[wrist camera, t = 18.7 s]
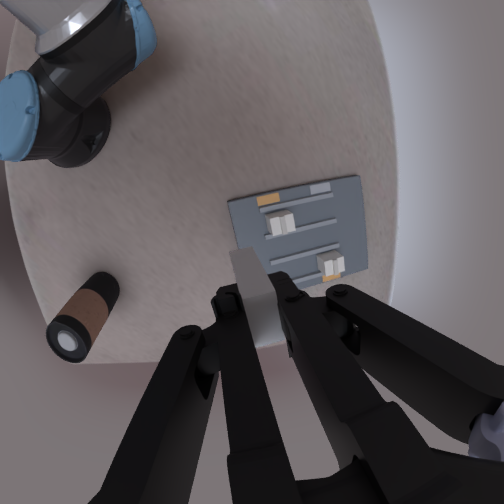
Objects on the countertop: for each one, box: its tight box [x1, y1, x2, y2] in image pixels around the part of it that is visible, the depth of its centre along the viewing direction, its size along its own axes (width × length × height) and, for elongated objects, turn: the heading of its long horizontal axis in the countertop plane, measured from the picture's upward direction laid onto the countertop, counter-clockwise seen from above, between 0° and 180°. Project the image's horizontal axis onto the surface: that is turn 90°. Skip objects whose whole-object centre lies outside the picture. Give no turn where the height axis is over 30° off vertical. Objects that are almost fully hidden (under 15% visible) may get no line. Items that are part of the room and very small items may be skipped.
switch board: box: [227, 175, 368, 289], centre depth 51 cm, size 26×20×3 cm
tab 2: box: [316, 250, 345, 276], centre depth 50 cm, size 4×3×5 cm
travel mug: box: [46, 272, 120, 363], centre depth 40 cm, size 8×8×20 cm
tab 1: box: [265, 210, 296, 236], centre depth 46 cm, size 4×3×5 cm
